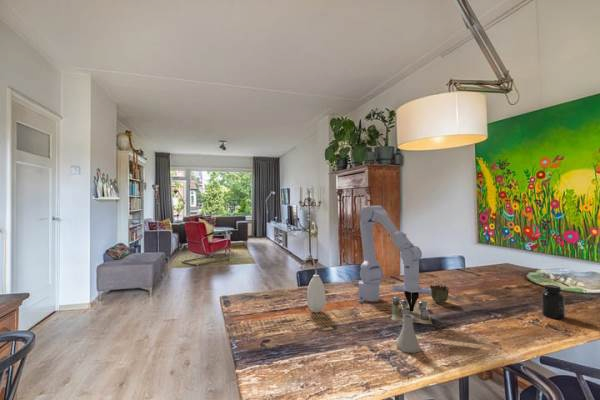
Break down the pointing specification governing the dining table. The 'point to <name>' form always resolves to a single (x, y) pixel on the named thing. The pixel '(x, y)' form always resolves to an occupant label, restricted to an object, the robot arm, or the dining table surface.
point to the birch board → (415, 314)
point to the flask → (408, 336)
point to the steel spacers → (406, 310)
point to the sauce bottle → (316, 294)
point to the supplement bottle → (553, 302)
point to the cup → (439, 293)
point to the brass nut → (402, 307)
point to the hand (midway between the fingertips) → (411, 310)
